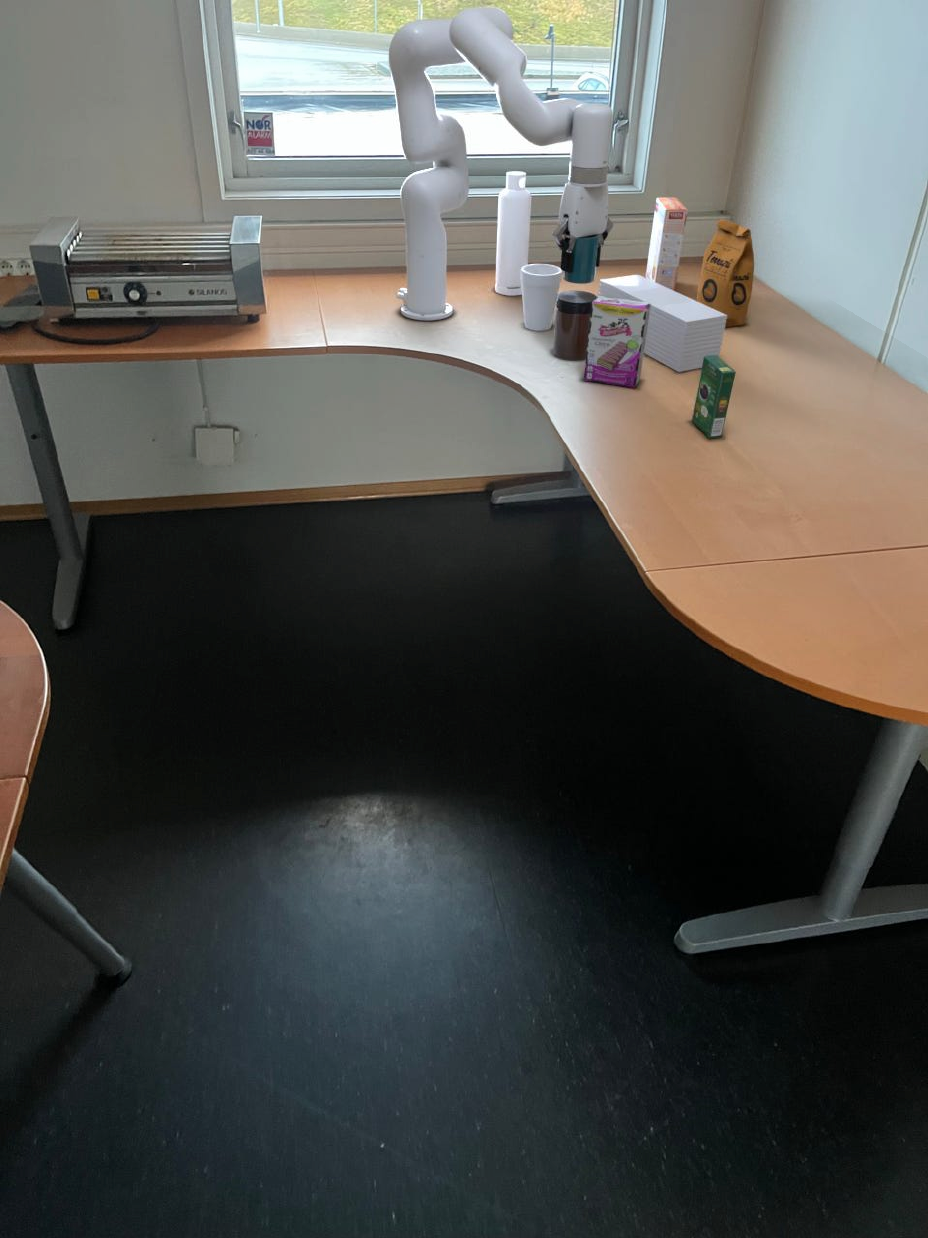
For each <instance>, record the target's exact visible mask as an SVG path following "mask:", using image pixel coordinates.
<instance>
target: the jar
mask: <svg viewBox="0 0 928 1238" xmlns="http://www.w3.org/2000/svg"><path fill="white" fill-rule="evenodd" d="M590 317H591V312H590V313H584V314H574V313H567V312H563V311H561V310H559V309H557V307H556V306H555V321H554V332H553V344H552V345H553V346H552V347H553V348H552V354H553V356H554V357H556V358H558V359H561V360H564V361H571V362H572V361H574V362H575V361H576V362H577V361H583V360H586V353H587V344H588V335H589V326H590Z"/></svg>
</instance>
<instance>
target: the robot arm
mask: <svg viewBox="0 0 928 1238" xmlns="http://www.w3.org/2000/svg"><path fill="white" fill-rule="evenodd" d="M514 34H515V33H514V27H513V22H512V19H511V18H510V16H509V15H508V13H506V12H505V10H503V9H502V8H500V7H496V6H482V7H481V6H480V7H469V8H465V9H463V10H461V11H459V12H458V13H457V14H456V15H455V16H453V17H444V18H425V19H424V18H423V19H418V20H412V21H410V22H407V23H405V24H404V25H402V26H401V27H399V28H398V29H397V31H396V32H395V33H394V34H393V37H392V39H391V41H390V43H389V44H390V45H389V48H388V49H389V50H388V65H389V72H390V77H391V81H392V85H393V90H394V96H395V104H396V114H397V123H398V130H399V139H400V146H401V152H402V154H403V156H404V158H405V160H407V161H408V162H409V163H411V164H413V165H414V164H415V165H422V164H423V165H424V164H428V163H433V168H432V167H431V168H427V169H423V170H419V171H416V172H413V173H412V174H410V175H408V176H407V177H406V178H405V180H404V181H403V183H402V184H401V188H400V195H399V196H400V203H401V209H402V213H403V219H404V228H405V229H404V231H405V264H406V265H405V266H406V268H405V269H406V270H405V271H406V272H405V273H406V288H405V287H400V288H399V290H398V292H397V293H396V298H397V299H400V300H403V304H402V305H401V307H400V313H401V315H402V316H404V317H406V318H408V319H409V320H415V321H439V320H444V319H447V318H449V317H451V316H452V315H453V312H454V311H453V306H452V305H451V304H449V303H447V266H448V265H447V263H448V262H447V255H448V253H447V251H448V250H447V247H448V245H447V231H446V228H445V225H444V223H443V220H442V216H441V214H445V213H449V212H451V211H454V210H457V209H459V208H461V207H462V206H463V205H465V203H466V202H467V199H468V197H469V192H470V180H469V179H470V177H469V166H468V153H467V142H466V135H465V131H464V127H463V125H462V123H461V122H460V120H459V119H458V118H457V116H455V115H454V114H452V113H451V112H448V111H437V105H436V93H435V90H434V85H433V83H432V81H431V79H430V77H429V76H428V74H427V72H426V70H427V69H429V68H436V67H437V68H438V67H446V66H456V65H461V64H465V63H467V64H468V65H470V67H471V68H473V70H474V71H476V72H477V73H478V75H480V77H481V78H482V79H484V81H485V82H486V83H487V84H488V85H489V86H490V87H491V88H492V89H493V90H494V91H495V93H496V99H497V103H498V105H499V108H500V111H501V113H502V115H503V116H504V118H505V119H506V121H507V122H508V124H510V125H511V127H513V129H514V130H515V131H517V132H518V134H520V135H521V136H522V137H523V138H524V139H526V140H527V141H528V142H529V143H531V144H533V145H534V146H535V145H536V146H538V147H546V146H550V145H551V146H552V145H554V144H559V143H565V142H570V154H569V155H570V156H569V169H568V170H569V171H568V181H567V182H565V184H564V187H563V191H562V194H561V199H560V204H559V211H558V212H559V213H558V217H557V218H558V219H557V226H556V227H555V229H554V230H553V231H552V233H551V236H552V238H553V240H554V242H555V243H556V245H557V246H558V248H559V250H560V251H561V256H560V258H561V259H560V268H561V270H562V272H564V271H565V272H568V273H572V272H573V264H574V253H573V252H572V250H573V248H574V245H575V243H576V239H577V238H584V237H589V236H594V235H597V234H599V243H598V254H597V264H596V268H599V267H600V263H601V262H600V261H601V252H602V248H603V247H604V245H605V241H606V240H607V238H608V236H609V233H610V232H611V230H612V229H613V227H614V223H613V221H612V219H610V218H609V183H608V181H607V180H608V174H609V173H610V167H609V159H610V149H611V141H612V140H611V139H612V131H613V130H612V129H613V120H614V119H613V117H614V116H613V115H614V113H613V108H612V107H611V106H610V105H607V104H604V103H595V102H590V103H589V102H588V103H587V102H585V101H582V100H578V99H575V98H571V97H566V98H565V97H564V98H558V99H556V98H555V99H550V100H544V101H543V100H542V99H541V98H539V97H538V96H537V95H536V93H534V92H533V91H532V90H531V89H530V88H529V87H528V85H527V84H526V83H525V81H524V80H523V76H524V74H525V72H526V69H527V65H528V59H527V55H526V53H525V52H524V51H523V50H522V48H520V47H519V46H518V45H517V44H516V43H515V42H514ZM568 239H570V242H569V244H568V243H567V242H568Z"/></svg>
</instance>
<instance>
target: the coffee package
mask: <svg viewBox="0 0 928 1238" xmlns="http://www.w3.org/2000/svg"><path fill="white" fill-rule="evenodd" d="M716 226H717V230H716V232H715V234H714V235H713V237H712V239H711V241H710V243H709V244H708V246H707V248H706V250H705V252H704V254H703V257H702V258H703V259H702V266H701V272H700V275H699V283H698V288H697V296H696V301H697V302H699V303H701V304H704V305H706V306H708V307H710V308H712V309H715V310H717V311H719V312H721V313H723V314H726V315H727V319H726V324H725V328H726V327H728V328H731V327H741V326H744V325H745V324H746V319H747V315H748V311H749V310H748V309H749V305H750V301H751V297H752V293H753V282H754V272H755V254H754V248H753V238H752V231H751V229H750V228H747V227H745V226H742V225H741V224H738V223H735V222H732V221H729V220H726V219H724V218H721V219H719V220H718V221H717V223H716Z"/></svg>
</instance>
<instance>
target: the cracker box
mask: <svg viewBox="0 0 928 1238" xmlns="http://www.w3.org/2000/svg"><path fill="white" fill-rule="evenodd" d="M654 207H655V208H654V215H653V221H652V227H651V228H652V229H651V236H650V241H649V249H648V256H647V264H646V271H645V276H644V278H647V279H649V280H651V281H653V282H655V283H658V284H660V285H662V286H664V287H666V288H669V289H671V290H673V291H675V292H676V285H677V278H678V272H679V266H680V260H681V255H682V248H683V240H684V235H685V229H686V224H687V217H688V209H687V207H686V206H685V205H684V204H683V203H682V202H681V200H680V199H679V198H678V197H668V196H667V197H663V196H662V197H656V199H655V206H654Z"/></svg>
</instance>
